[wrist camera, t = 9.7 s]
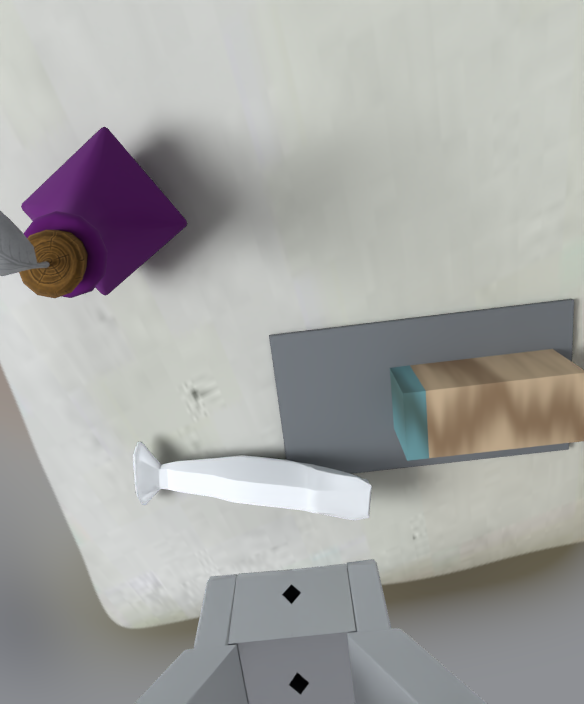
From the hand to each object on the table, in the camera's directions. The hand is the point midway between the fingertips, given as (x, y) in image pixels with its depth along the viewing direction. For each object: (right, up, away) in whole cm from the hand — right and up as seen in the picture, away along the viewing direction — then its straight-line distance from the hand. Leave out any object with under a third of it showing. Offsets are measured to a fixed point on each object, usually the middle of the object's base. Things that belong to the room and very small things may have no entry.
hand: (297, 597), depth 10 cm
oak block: (+8, 0, +30) cm, 31 cm away
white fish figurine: (-3, -5, +34) cm, 35 cm away
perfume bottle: (-12, +14, +28) cm, 34 cm away
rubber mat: (+10, +1, +32) cm, 34 cm away
